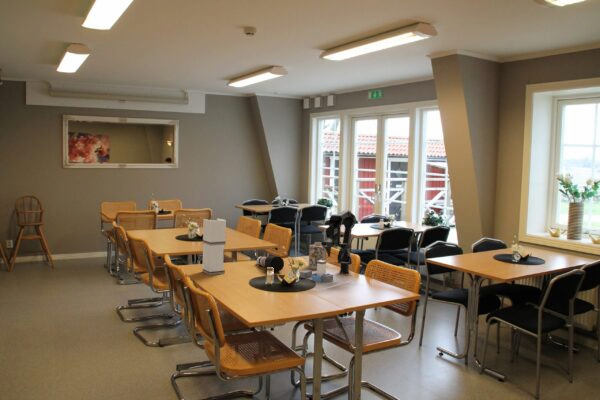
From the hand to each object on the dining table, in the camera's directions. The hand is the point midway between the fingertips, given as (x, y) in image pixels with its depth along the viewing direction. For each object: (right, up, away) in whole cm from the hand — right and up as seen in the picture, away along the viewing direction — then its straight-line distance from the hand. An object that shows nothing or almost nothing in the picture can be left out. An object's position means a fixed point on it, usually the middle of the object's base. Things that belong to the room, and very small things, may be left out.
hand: (335, 257), depth 331 cm
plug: (-10, -13, -11) cm, 19 cm away
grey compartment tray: (-12, -13, -9) cm, 20 cm away
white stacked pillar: (-80, -10, +4) cm, 80 cm away
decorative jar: (-11, -11, +32) cm, 36 cm away
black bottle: (-46, -10, +25) cm, 53 cm away
